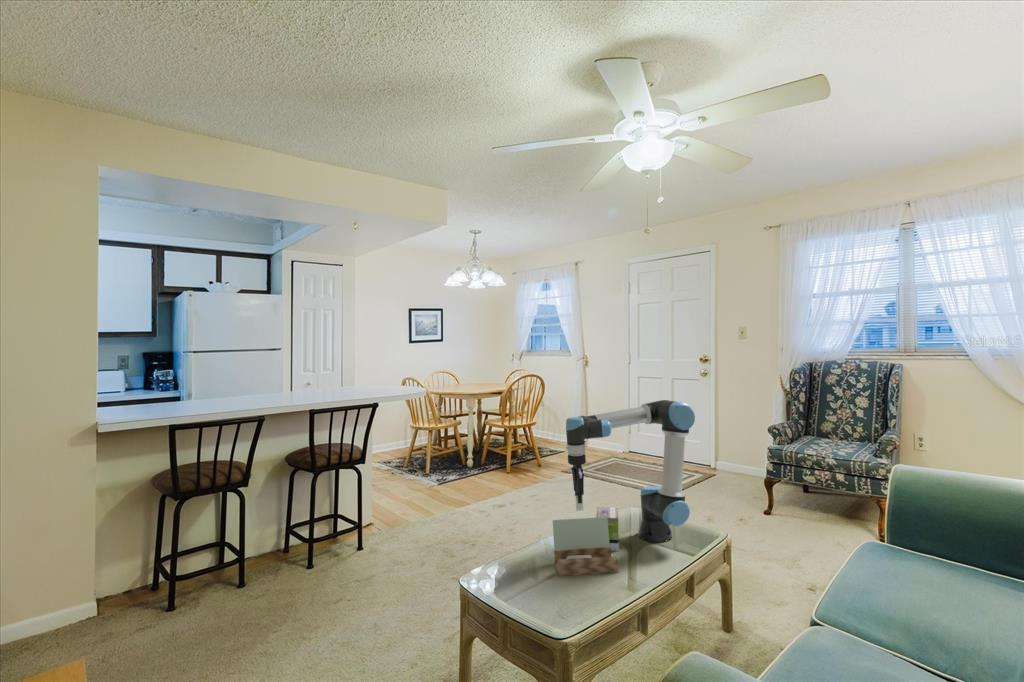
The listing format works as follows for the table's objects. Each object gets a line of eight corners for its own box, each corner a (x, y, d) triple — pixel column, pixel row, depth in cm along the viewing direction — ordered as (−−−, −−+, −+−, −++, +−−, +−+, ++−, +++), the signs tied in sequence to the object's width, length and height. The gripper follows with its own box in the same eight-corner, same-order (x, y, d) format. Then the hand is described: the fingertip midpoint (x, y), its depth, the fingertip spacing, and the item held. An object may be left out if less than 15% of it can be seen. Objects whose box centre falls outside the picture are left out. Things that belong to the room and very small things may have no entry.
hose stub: (591, 558, 201) (591, 552, 201) (592, 564, 199) (593, 558, 198) (565, 560, 201) (565, 554, 200) (566, 565, 198) (566, 559, 197)
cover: (609, 546, 203) (609, 546, 204) (607, 517, 205) (606, 516, 206) (554, 550, 202) (554, 549, 202) (552, 520, 204) (552, 520, 205)
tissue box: (610, 559, 203) (610, 547, 203) (618, 572, 191) (617, 559, 191) (554, 562, 201) (554, 550, 202) (558, 576, 189) (558, 562, 190)
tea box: (620, 551, 210) (618, 517, 211) (596, 550, 212) (595, 517, 213) (619, 538, 225) (617, 506, 225) (597, 537, 227) (596, 506, 227)
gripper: (564, 451, 209) (567, 505, 208) (571, 458, 196) (574, 515, 195) (581, 450, 210) (584, 504, 209) (588, 456, 197) (592, 514, 196)
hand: (579, 509), depth 202 cm, fingers closed
